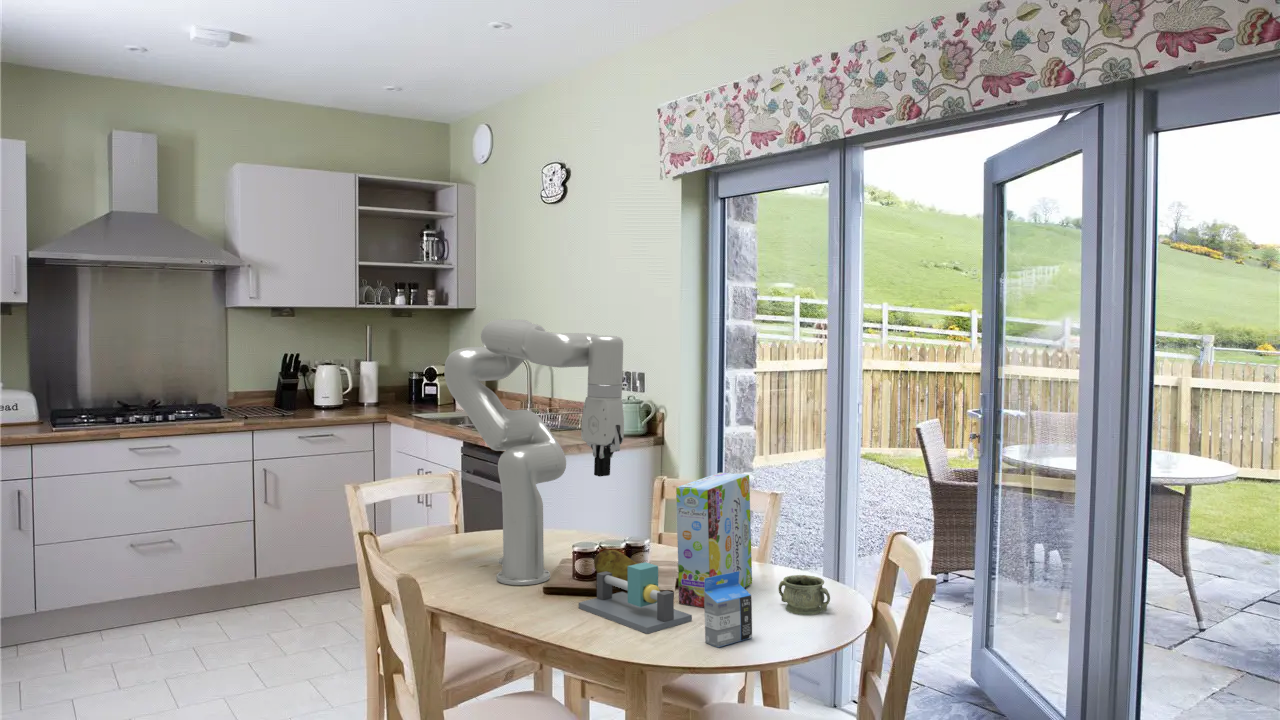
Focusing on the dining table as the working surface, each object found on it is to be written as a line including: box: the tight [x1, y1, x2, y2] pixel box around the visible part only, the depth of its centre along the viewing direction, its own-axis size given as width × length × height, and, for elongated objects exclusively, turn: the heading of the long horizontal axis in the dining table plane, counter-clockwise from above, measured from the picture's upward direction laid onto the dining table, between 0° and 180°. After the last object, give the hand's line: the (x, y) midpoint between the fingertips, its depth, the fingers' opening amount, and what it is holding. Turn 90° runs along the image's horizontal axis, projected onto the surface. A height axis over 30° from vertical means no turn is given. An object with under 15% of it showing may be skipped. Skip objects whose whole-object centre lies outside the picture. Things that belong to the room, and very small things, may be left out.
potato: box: [593, 549, 638, 581], centre depth 208 cm, size 8×13×8 cm, turn 44°
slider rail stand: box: [578, 571, 693, 635], centre depth 187 cm, size 22×12×7 cm, turn 41°
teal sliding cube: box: [627, 561, 659, 607], centre depth 184 cm, size 4×5×8 cm
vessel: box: [778, 574, 831, 616], centre depth 190 cm, size 12×9×6 cm
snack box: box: [675, 472, 753, 609], centre depth 201 cm, size 22×9×26 cm, turn 149°
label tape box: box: [704, 571, 753, 648], centre depth 170 cm, size 9×4×12 cm, turn 126°
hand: (602, 475), depth 198 cm, fingers closed
